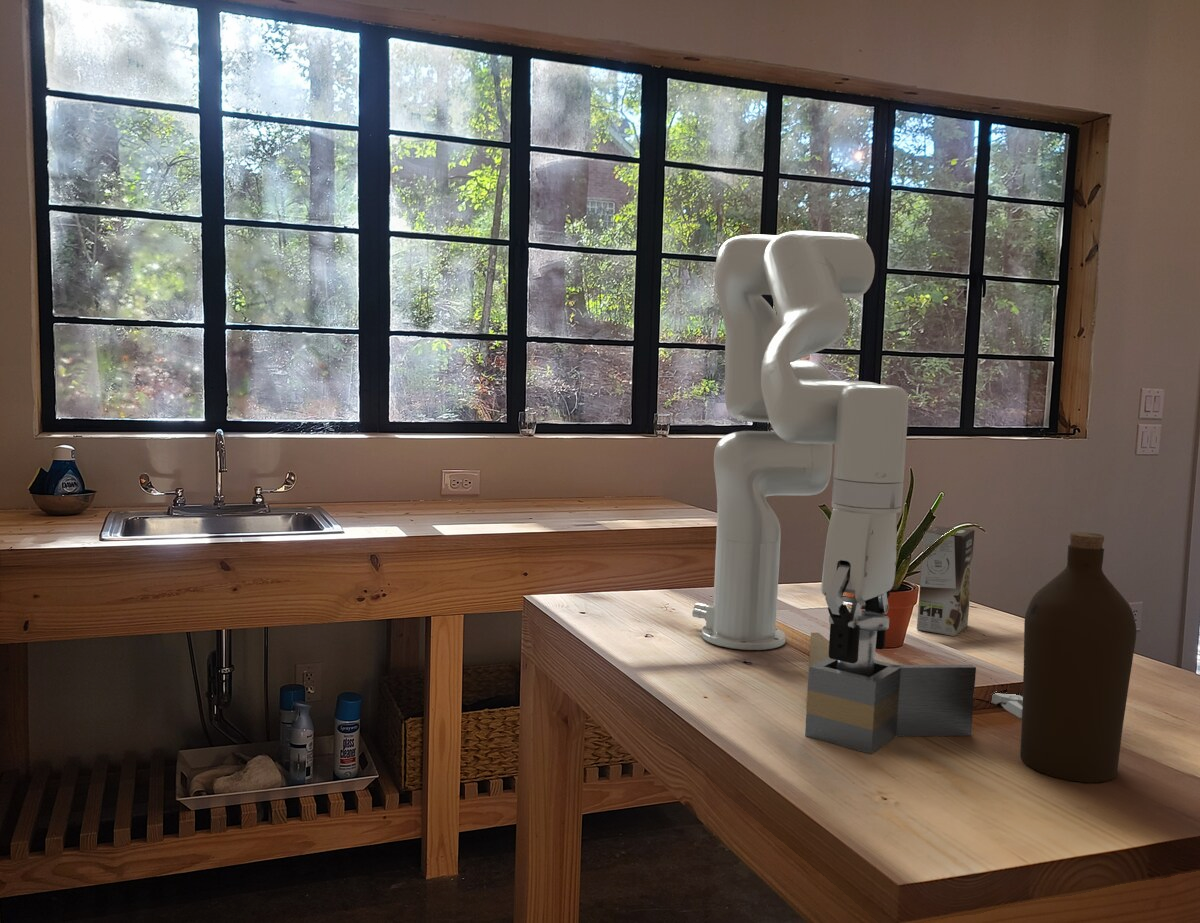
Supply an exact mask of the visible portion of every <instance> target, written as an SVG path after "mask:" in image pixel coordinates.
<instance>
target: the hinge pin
mask: <svg viewBox="0 0 1200 923" xmlns="http://www.w3.org/2000/svg"><path fill="white" fill-rule="evenodd" d="M848 610H849V612H851V608H848ZM885 615H886V614H884V615H883V613H882V614H879V613H875V612H870V611H865V610H863V609H860V612H859V617H858V621H857V625H856V627H860V634H859V650H858V661H857V662H856V663H848V662H844V661H839V660H838V661H837V670H841V671H845V672H850V673H854V674H858V675H863V676H867V677H871V676H873V673H874V661H875V660H876V650H877V649H876V638H877V631H882V630H886V631H887V630H889V627H890V626H889V625H890V617H889V616H888V615H887V616H885Z"/></svg>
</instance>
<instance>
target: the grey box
mask: <svg viewBox="0 0 1200 923" xmlns="http://www.w3.org/2000/svg"><path fill="white" fill-rule="evenodd" d="M808 658H809V659H808V674H807V675H808V676H807V692H806V694H807V695H806V696H807V697H806V698H807V699H806V715H805V732H804V734H805V735H804V736H805V737H808V738H812V739H815V740H817V741H821V742H822V741H823V742H826V743H830V744H834V745H837V746H840V747H843V748H847V749H850V750H855V751H859V752H862V753H866V754H869V755H872V754H874V753H875V752H876V751H878V750H879V749H880V748H882V747H883V746H885V745H886V744H888V743H889V742H890V741H892V740H893V739H894V738H896V737H943V736H944V737H949V736H950V737H951V736H953V737H955V736H962V737H963V736H965V737H966V736H967V737H968V736H972V726H973V713H974V702H975V701H974V700H975V699H974V690H976V688H975V686H976V674H977V667H976V666H975V665H973V664H894V663H891V662H890V663H889V662H886V661H880V660H876V659H875V661H874V673H873V676H871V677H867V676H863V675H858V674H854V673H850V672H845V671H841V670H837V661H838V660H835V659H831V658H830V657H829V640H828V639H827V638H826V637H825V636H823V635H822V634H821V633H820V632H810V643H809V657H808Z"/></svg>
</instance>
